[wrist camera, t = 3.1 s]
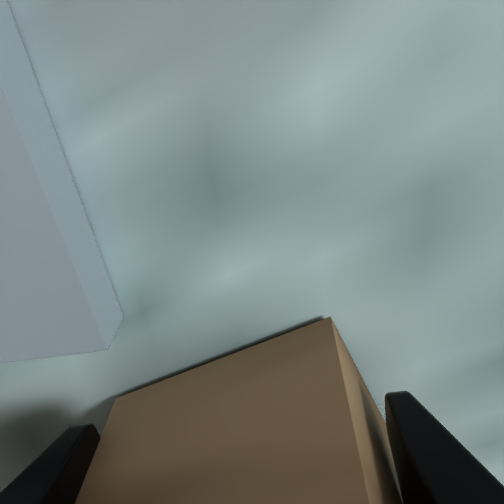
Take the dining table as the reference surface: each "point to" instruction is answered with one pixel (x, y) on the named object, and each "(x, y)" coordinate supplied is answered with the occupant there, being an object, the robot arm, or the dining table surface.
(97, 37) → the dining table surface
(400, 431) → the robot arm
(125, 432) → the walnut cube
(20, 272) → the mat
